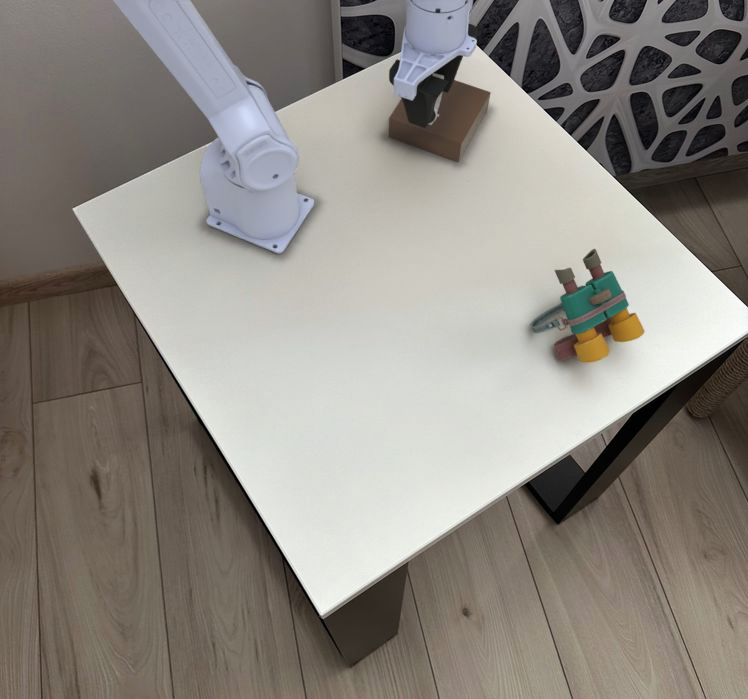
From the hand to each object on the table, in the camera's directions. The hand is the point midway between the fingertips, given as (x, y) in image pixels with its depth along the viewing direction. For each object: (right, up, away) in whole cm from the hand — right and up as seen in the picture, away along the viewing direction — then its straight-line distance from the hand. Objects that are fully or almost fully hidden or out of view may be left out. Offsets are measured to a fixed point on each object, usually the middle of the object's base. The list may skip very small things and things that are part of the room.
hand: (429, 105), depth 81 cm
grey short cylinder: (0, -1, +2) cm, 2 cm away
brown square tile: (+2, +1, +10) cm, 10 cm away
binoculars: (+15, -25, -4) cm, 29 cm away
